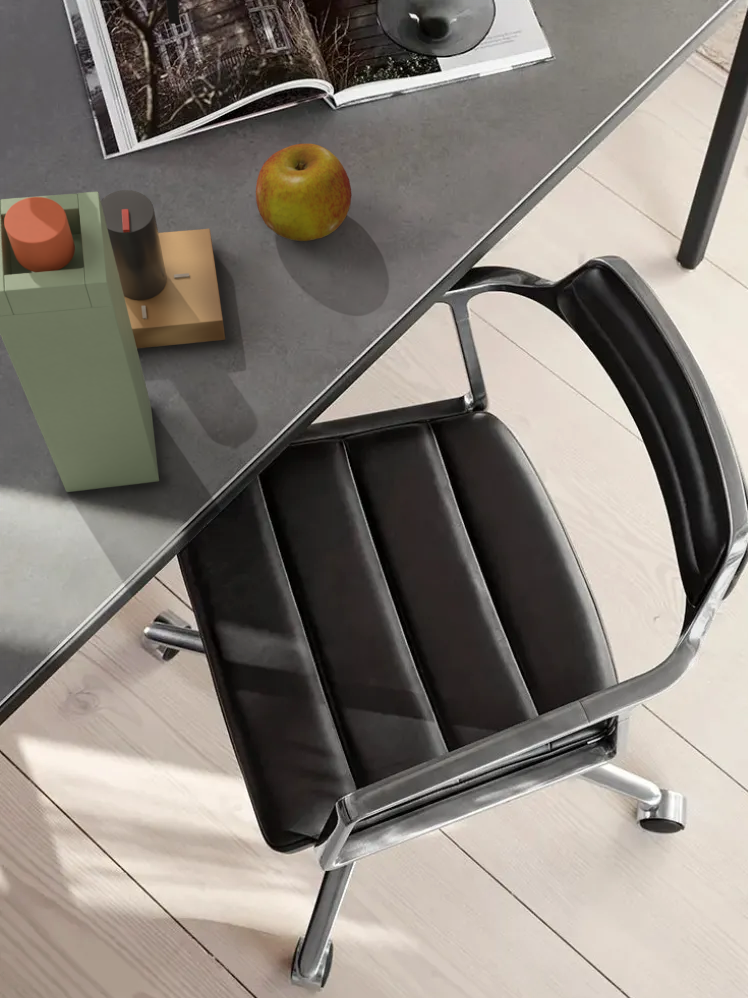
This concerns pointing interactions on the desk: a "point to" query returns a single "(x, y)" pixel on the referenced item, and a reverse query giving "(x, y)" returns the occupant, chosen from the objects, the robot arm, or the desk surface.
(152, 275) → the dial knob
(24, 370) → the button stand
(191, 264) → the dial panel
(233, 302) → the desk surface
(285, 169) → the fruit
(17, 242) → the button
